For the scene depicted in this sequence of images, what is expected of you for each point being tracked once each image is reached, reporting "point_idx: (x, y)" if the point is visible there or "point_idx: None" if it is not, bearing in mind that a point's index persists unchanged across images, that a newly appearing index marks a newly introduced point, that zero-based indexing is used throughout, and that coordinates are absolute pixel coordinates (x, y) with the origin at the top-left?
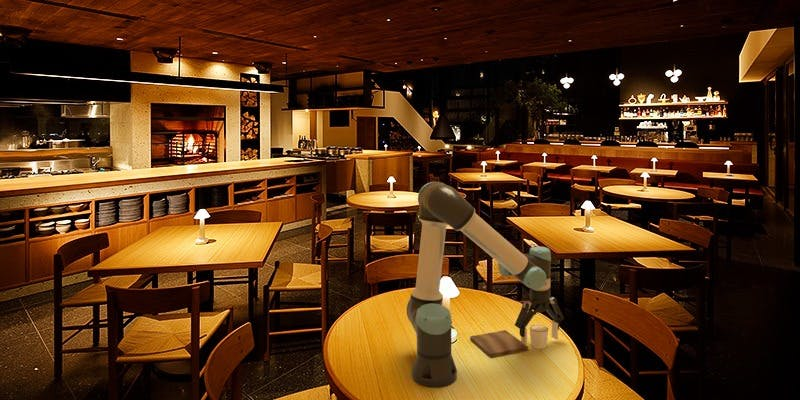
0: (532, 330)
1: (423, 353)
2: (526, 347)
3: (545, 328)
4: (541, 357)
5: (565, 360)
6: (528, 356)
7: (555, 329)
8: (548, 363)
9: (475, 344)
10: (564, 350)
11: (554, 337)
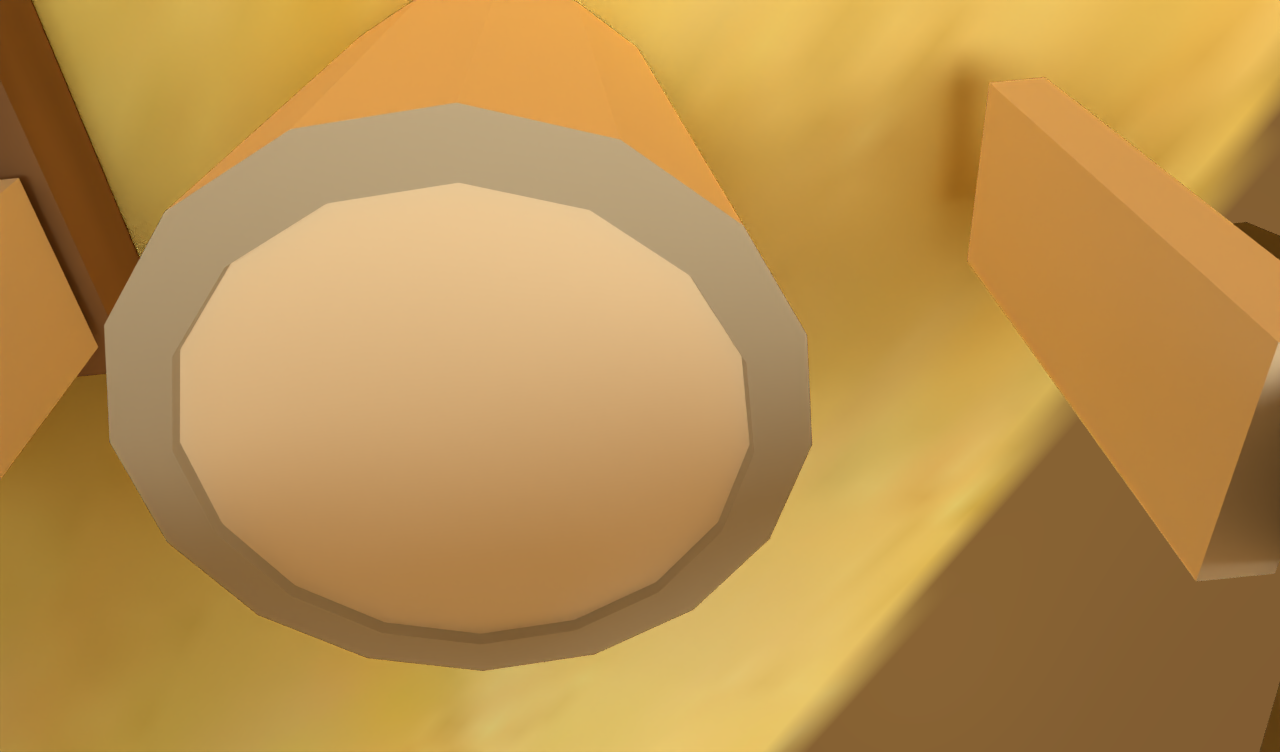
0: (156, 521)
1: None
2: (83, 370)
3: (703, 486)
4: None
5: (666, 699)
6: (99, 513)
7: (1081, 388)
8: (368, 720)
9: None
10: (880, 467)
11: (982, 215)
